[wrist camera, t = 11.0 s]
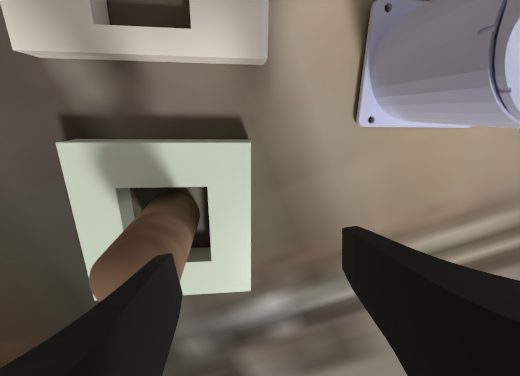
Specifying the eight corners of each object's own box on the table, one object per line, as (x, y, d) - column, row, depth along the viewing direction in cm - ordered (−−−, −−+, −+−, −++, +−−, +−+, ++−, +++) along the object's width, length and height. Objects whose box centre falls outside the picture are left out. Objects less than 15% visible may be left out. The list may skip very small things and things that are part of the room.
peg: (197, 189, 19) (172, 243, 11) (201, 235, 20) (182, 312, 12) (143, 191, 18) (79, 250, 11) (151, 238, 19) (99, 320, 12)
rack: (249, 139, 18) (250, 142, 16) (249, 275, 21) (250, 290, 20) (76, 138, 17) (55, 142, 15) (107, 282, 20) (94, 300, 18)
